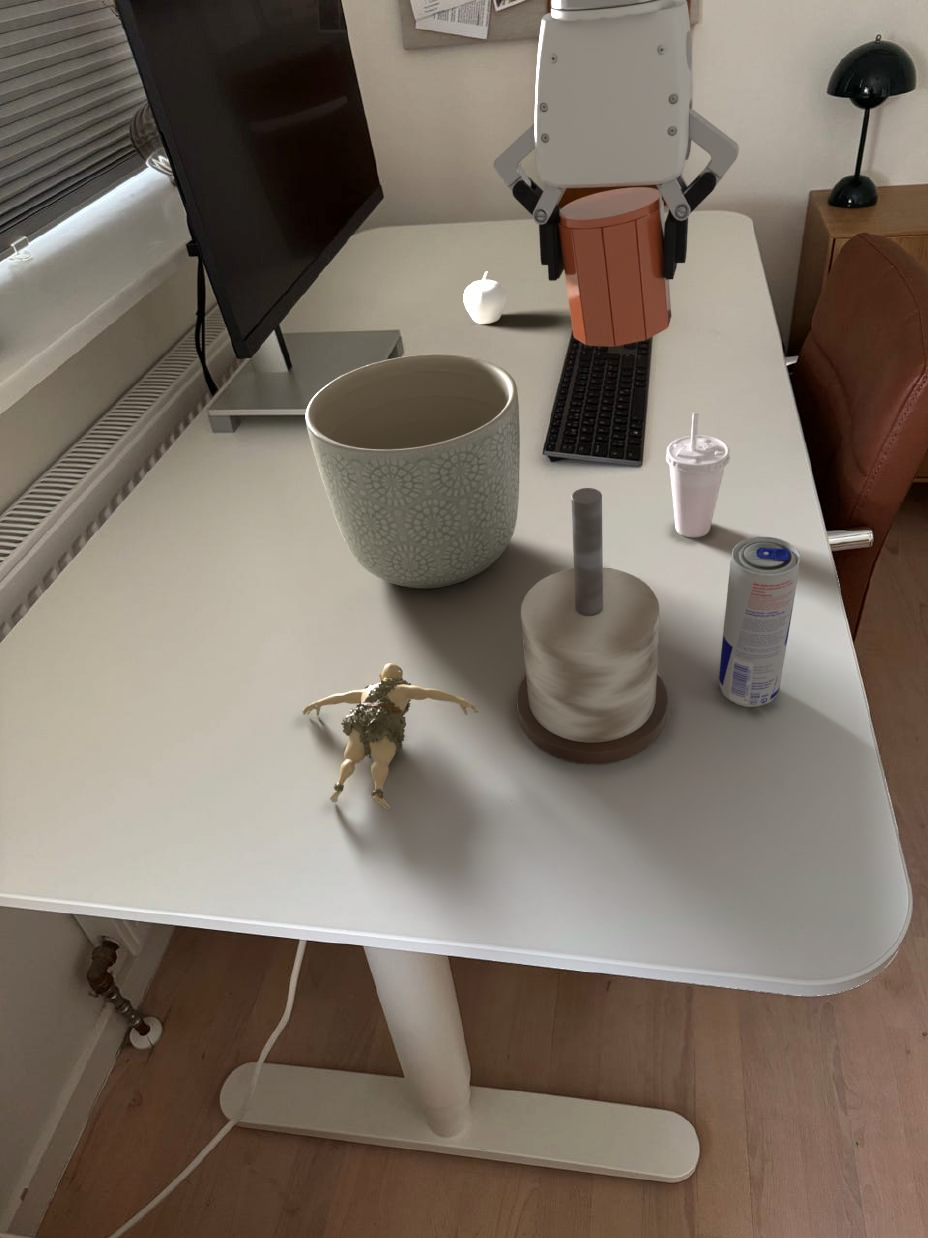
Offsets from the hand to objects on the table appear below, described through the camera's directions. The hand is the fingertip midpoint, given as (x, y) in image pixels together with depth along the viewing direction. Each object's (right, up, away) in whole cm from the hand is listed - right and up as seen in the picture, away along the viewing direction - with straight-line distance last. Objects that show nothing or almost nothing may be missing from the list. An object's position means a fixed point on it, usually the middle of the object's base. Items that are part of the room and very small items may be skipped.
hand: (612, 272), depth 66 cm
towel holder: (0, -33, +13) cm, 36 cm away
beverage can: (+14, -32, +13) cm, 37 cm away
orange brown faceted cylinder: (+1, -3, +3) cm, 4 cm away
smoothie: (+14, -16, +32) cm, 39 cm away
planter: (-14, -19, +33) cm, 41 cm away
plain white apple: (-7, +25, +84) cm, 88 cm away
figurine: (-18, -37, +12) cm, 43 cm away
